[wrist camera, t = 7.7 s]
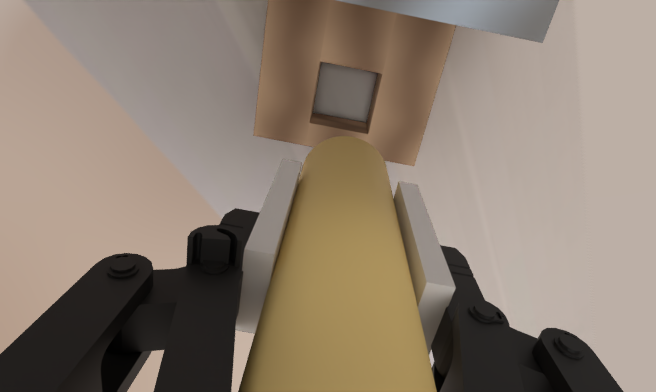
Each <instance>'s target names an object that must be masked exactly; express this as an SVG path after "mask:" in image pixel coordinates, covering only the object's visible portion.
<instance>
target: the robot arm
mask: <svg viewBox="0 0 656 392" xmlns="http://www.w3.org/2000/svg"><path fill="white" fill-rule="evenodd" d="M301 164H302V162H296V161H291V160H286V159H283V160H282V162H281V164H280V167H279V169H278V171H277V174H276V176H275V178H274V181H273V183H272V186H271V188H270V190H269V193H268V195H267V197H266V200H265V202H264V204H263V207H262V209H261V211H260V213H258V212H252V211H247V210H242V209H236V208H235V209H234V210H232V211H230V212H229V213H227V214H225V216H224V217H223V219H222V221H221V223H220V224H219V225H208V226H204V227H200V228H197V229H195V230H194V231H192V232H191V233H190V235H189V236H188V246H187V265H186V267H182V268H178V269H165V270H153V267H152V263H151V261H150V260H148V259H147V258H146V257H144V256H141V255H138V254H130V253H124V254H115V255H112V256H109V257H106V258H104V259H102V260H101V261H99V262H98V263H96V264H95V265H94V266H93V267H92V268H91V269H90V270H89V271H88V272H87V273H86V274H85V275H84V276H82V277H81V278H80V279H79V280H78V281H77V282H76V283H75V284H74V285H73V286H72V287H71V288H70V289H69V290H68V291H67V292H66V293H65V294H63V295H62V296H61V297H60V298H59V299H58V300H57V301H56V302H55V303H54V304H53V305H52V306H51V307H50V308H49V309H48V310H47V311H45V313H43V314H42V315H41V316H40V317H39V318H38V319H37V320H36V321H35V322H34V323H33V324H32V325H31V326H30V327H29V328H28V329H26V330H25V332H23V333H22V334H21V335H20V336H19V337H18V338H17V339H16V340H15V341H14V342H13V343H12V344H11V345H10V346H9V347H7V348H6V350H4V351H3V352H2V353H1V354H0V392H127V390H128V389H129V387H130V386H131V384H132V382H133V381H134V379H135V378H136V376H137V374H138V373H139V371H140V370H141V368H142V366H143V365H144V363H145V361H146V360H147V358H148V357H149V355H150V353H151V351H154V350H164V354H163V358H162V362H161V365H160V369H159V373H158V377H157V381H156V385H155V389H154V392H231V386H232V371H233V355H234V342H235V330H237V331H242V332H248V333H254V334H255V332H256V328H257V325H258V321H259V318H260V314H261V311H262V307H263V304H264V300H265V297H266V293H267V290H268V287H269V285H270V282H271V278H272V274H273V271H274V267H275V264H276V260H277V257H278V253H279V250H280V246H281V243H282V239H283V236H284V232H285V229H286V225H287V222H288V218H289V215H290V211H291V207H292V204H293V200H294V197H295V193H296V190H297V186H298V182H299V176H300V170H301ZM394 204H395V208H396V213H397V217H398V222H399V226H400V230H401V235H402V239H403V244H404V248H405V253H406V257H407V261H408V266H409V270H410V275H411V279H412V284H413V288H414V293H415V297H416V301H417V306H418V310H419V315H420V319H421V324H422V328H423V332H424V337H425V341H426V346H427V350H428V355H429V353H430V351H431V349H432V353H433V357H434V361H435V362H434V364H433V366H432V372H433V377H434V381H435V386H436V390H437V392H623V390H622V389H621V388H620V387H619V385H618V384H617V382H616V381H615V380H614V378H613V377H612V376H611V374H610V373H609V372H608V370H607V369H606V368H605V366H604V365H603V364H602V362H601V361H600V360H599V358H598V357H597V356H596V354H595V353H594V352H593V350H592V349H591V348H590V347H589V346H588V345H587V344H586V343H585V342H583V341H582V340H581V339H579V338H578V337H577V336H575V335H573V334H571V333H569V332H567V331H564V330H560V329H557V328H546V329H544V330H543V331H542V332H541V333H540V335H539V337H538V339H537V338H535V337H532V336H530V335H527V334H525V333H522V332H520V331H517V330H515V329H513V328H511V327H509V323H508V320H507V318H506V316H505V315H504V314H503V313H502V312H501V311H500V309H499V308H497V307H496V306H494V305H492V304H491V303H489V302H487V301H485V300H484V297H483V295H482V293H481V291H480V289H479V286H478V284H477V282H476V280H475V278H474V277H473V273H472V271H471V269H470V267H469V265H468V262H467V260H466V258H465V257H464V256H463V255H462V254H461V253H460V252H459V251H458V250H457V249H456V248H452V247H446V246H441V245H440V244H439V241H438V239H437V236H436V233H435V231H434V228H433V225H432V223H431V220H430V217H429V215H428V212H427V209H426V207H425V204H424V201H423V199H422V196H421V193H420V191H419V188H418V185H417V184H411V183H406V182H401V181H399V182H398V186H397V189H396V193H395V196H394Z"/></svg>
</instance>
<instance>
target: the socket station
mask: <svg viewBox="0 0 656 392" xmlns="http://www.w3.org/2000/svg"><path fill="white" fill-rule="evenodd" d="M558 2H559V0H268V6H267V15H266V24H265V34H264V43H263V52H262V61H261V70H260V80H259V89H258V98H257V107H256V117H255V126H254V135H253V136H259V137H264V138H269V139H274V140H280V141H285V142H290V143H295V144H301V145H306V146H311V147H316V146H317V145H318V144H320V143H321V142H323V141H325V140H327V139H330V138H334V137H339V136H349V137H355V138H359V139H361V140H364V141H366V142H368V143H369V144H371V145H372V146H373V147H374V148H375V149H376V150H377V151H378V152H379V153H380V154H381V156H382V158H383V160H384V161H390V162H395V163H400V164H405V165H410V166H414V165H415V161H416V158H417V155H418V151H419V148H420V145H421V141H422V138H423V135H424V131H425V128H426V125H427V121H428V118H429V115H430V111H431V108H432V105H433V101H434V98H435V94H436V91H437V88H438V84H439V81H440V78H441V74H442V71H443V68H444V64H445V61H446V58H447V54H448V51H449V48H450V44H451V41H452V38H453V34H454V31H455V28H456V25H458V26H463V27H467V28H472V29H477V30H482V31H487V32H492V33H497V34H501V35H506V36H511V37H516V38H521V39H526V40H531V41H535V42H540V43H543V40H544V38H545V35H546V33H547V30H548V28H549V25H550V23H551V20H552V17H553V15H554V12H555V10H556V7H557V5H558ZM321 62H326V63H331V64H336V65H341V66H346V67H351V68H356V69H361V70H366V71H371V72H376V73H378V76H377V80H376V84H375V89H374V93H373V97H372V102H371V106H370V110H369V114H368V119H367V123H364V122H359V121H354V120H349V119H343V118H338V117H333V116H328V115H323V114H318V113H313V108H314V102H315V96H316V90H317V84H318V79H319V73H320V67H321Z"/></svg>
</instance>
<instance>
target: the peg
mask: <svg viewBox="0 0 656 392" xmlns="http://www.w3.org/2000/svg"><path fill="white" fill-rule="evenodd" d="M238 392H437V390H436V386H435V381H434V377H433V372H432V368H431V363H430V359H429V355H428V350H427V346H426V341H425V337H424V332H423V328H422V324H421V319H420V315H419V310H418V306H417V301H416V297H415V293H414V288H413V284H412V279H411V275H410V270H409V266H408V261H407V257H406V253H405V248H404V244H403V239H402V235H401V230H400V226H399V222H398V217H397V213H396V208H395V204H394V199H393V195H392V191H391V186H390V182H389V177H388V173H387V168H386V164H385V162H384V160H383V158H382V156H381V154H380V153H379V152H378V151H377V150H376V149H375V148H374V147H373V146H372V145H371V144H369V143H368V142H366V141H364V140H361V139H359V138H355V137H349V136H339V137H334V138H330V139H327V140H325V141H323V142H321V143H320V144H318V145H317V146H316V147H314V148H313V149H312V150H311V152H310V153H309V154H308V156H307V158H306V159H305V162H304V164H303V168H302V171H301V175H300V178H299V182H298V186H297V190H296V193H295V197H294V200H293V204H292V207H291V211H290V215H289V218H288V222H287V225H286V229H285V232H284V236H283V239H282V243H281V246H280V250H279V253H278V257H277V260H276V264H275V267H274V271H273V274H272V278H271V282H270V285H269V287H268V290H267V293H266V297H265V300H264V304H263V307H262V311H261V314H260V318H259V321H258V325H257V328H256V332H255V336H254V339H253V342H252V346H251V349H250V353H249V357H248V360H247V363H246V367H245V371H244V374H243V377H242V381H241V384H240V388H239V391H238Z"/></svg>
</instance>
